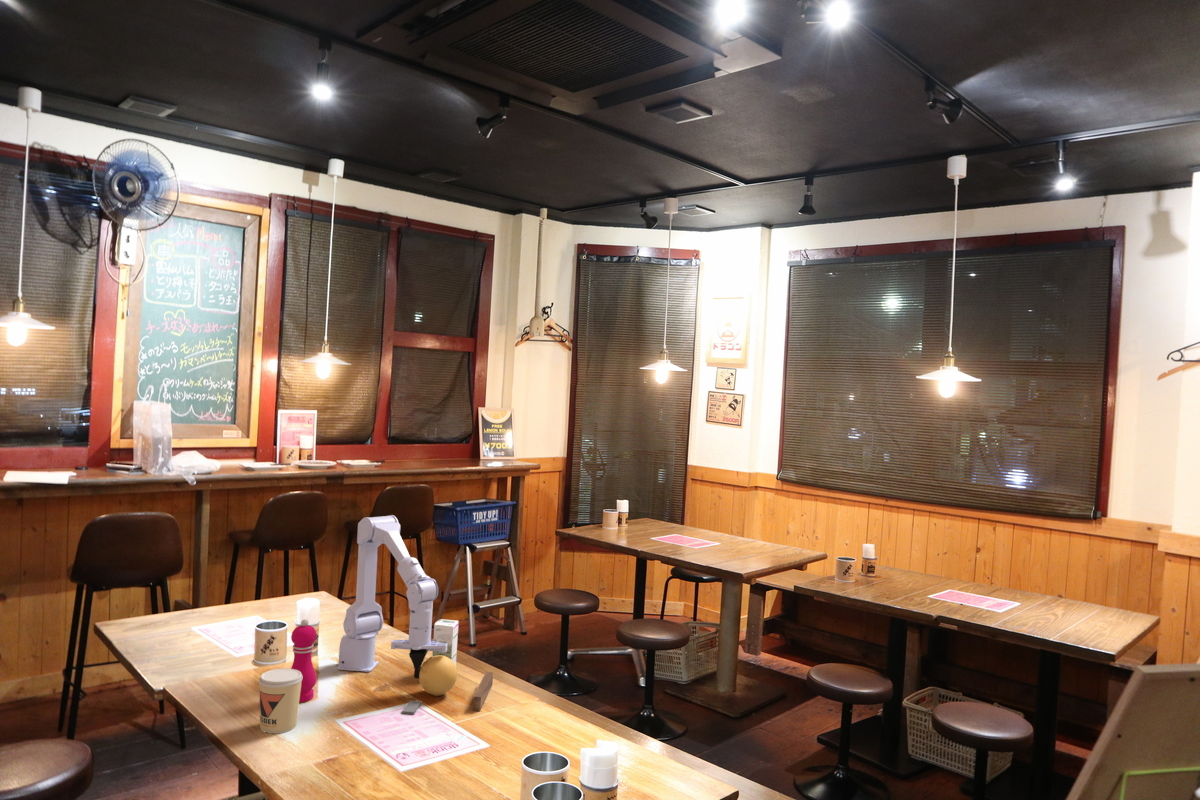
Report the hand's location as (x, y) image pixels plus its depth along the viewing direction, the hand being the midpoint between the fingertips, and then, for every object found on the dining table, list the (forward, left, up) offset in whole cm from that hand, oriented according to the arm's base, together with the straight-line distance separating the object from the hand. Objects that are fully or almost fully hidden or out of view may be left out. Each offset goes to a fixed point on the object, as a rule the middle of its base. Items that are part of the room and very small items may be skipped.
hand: (417, 677), depth 206 cm
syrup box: (+3, +16, -4) cm, 17 cm away
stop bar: (+18, 0, -4) cm, 18 cm away
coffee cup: (-25, -26, -4) cm, 37 cm away
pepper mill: (-27, -9, -4) cm, 29 cm away
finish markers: (+2, -2, -4) cm, 5 cm away
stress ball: (+5, 0, -4) cm, 7 cm away
